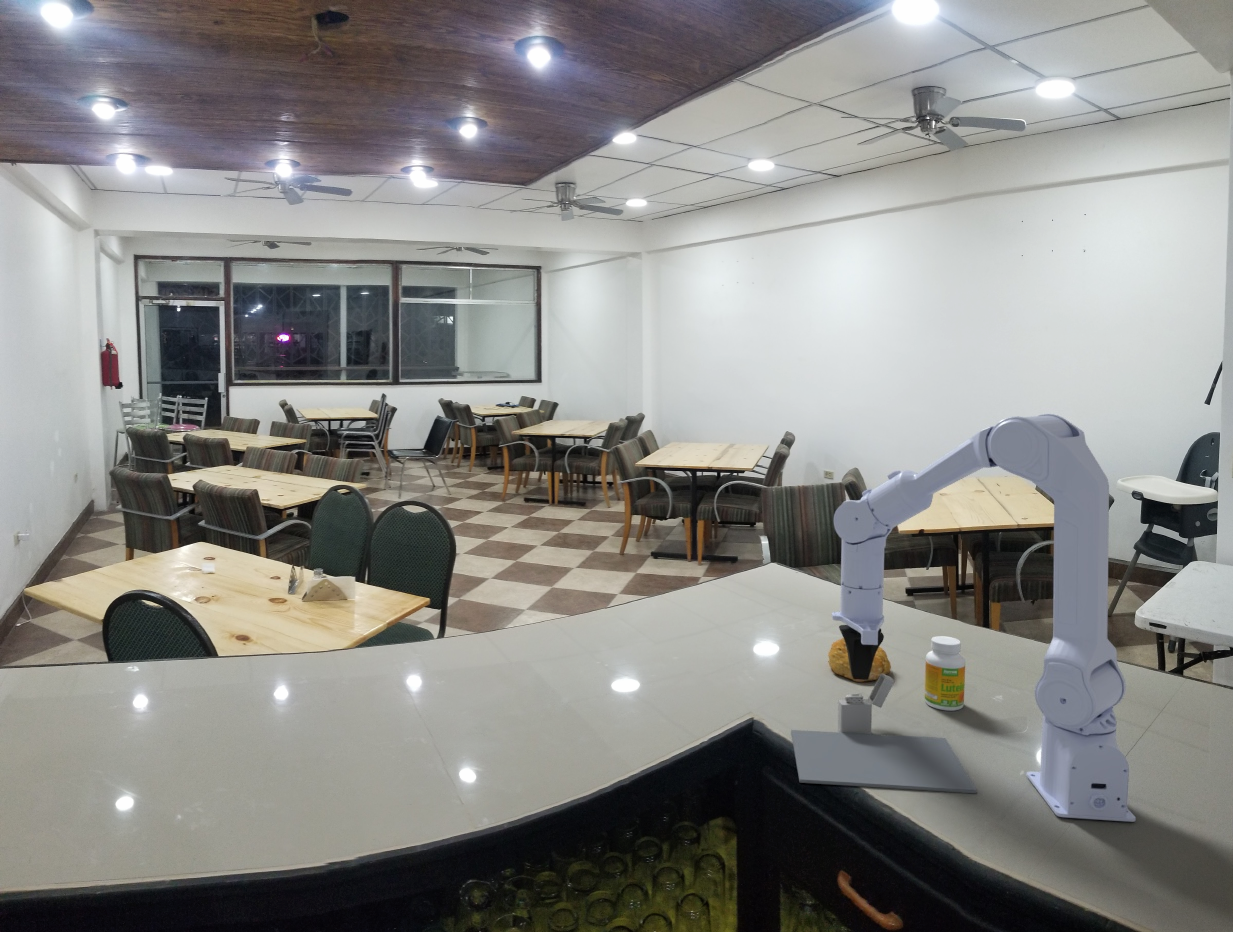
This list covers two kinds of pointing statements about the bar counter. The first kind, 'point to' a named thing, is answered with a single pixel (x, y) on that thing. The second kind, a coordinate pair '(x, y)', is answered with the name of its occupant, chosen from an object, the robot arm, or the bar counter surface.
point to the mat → (879, 761)
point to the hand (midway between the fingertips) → (859, 677)
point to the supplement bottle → (945, 674)
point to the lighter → (862, 707)
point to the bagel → (842, 667)
